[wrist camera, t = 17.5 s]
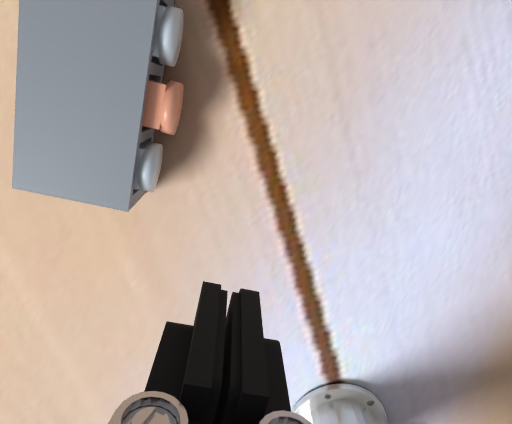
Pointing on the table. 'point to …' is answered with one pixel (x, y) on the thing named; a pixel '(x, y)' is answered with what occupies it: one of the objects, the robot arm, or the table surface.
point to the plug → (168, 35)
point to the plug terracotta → (163, 106)
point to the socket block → (83, 97)
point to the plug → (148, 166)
